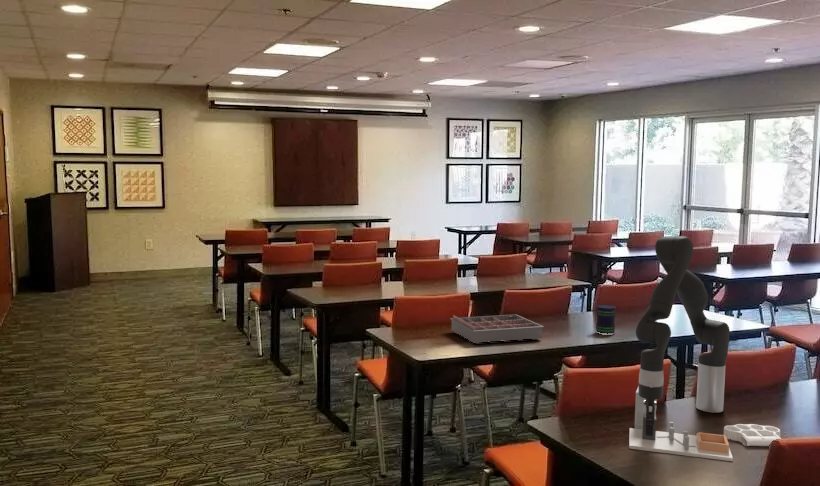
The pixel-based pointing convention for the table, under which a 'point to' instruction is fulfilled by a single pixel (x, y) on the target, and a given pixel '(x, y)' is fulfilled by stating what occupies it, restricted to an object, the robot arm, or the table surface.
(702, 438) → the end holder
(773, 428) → the white brass knuckles
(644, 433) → the dark grey block
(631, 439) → the board
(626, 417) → the table surface
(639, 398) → the small box
